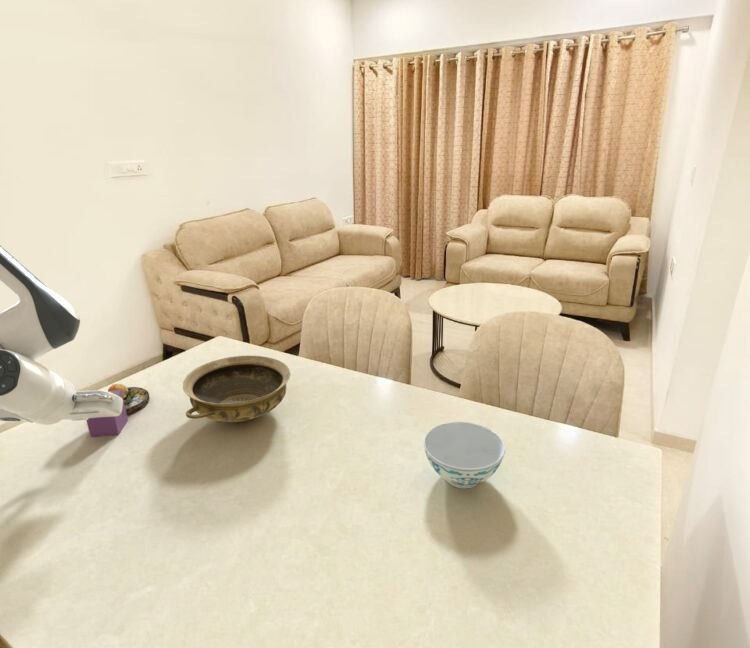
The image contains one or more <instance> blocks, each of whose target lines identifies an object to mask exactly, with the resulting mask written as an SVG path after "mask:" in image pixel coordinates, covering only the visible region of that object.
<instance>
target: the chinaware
mask: <svg viewBox="0 0 750 648" xmlns="http://www.w3.org/2000/svg"><path fill="white" fill-rule="evenodd" d="M423 447H424V453H425V454H426V455H425V456H426V458H427V460H428V463H429V464H430V466H431V468H432V469H433V471H434V472H435V473H436V474H437V475H438V476H439V477H440V478H442V479H444V481H446V482H447V484H449V485H450V486H452V487H455V488H458V489H471V488H475V486H477V485H478V484H481V483H483V482H485V481H487V480H488V479H490V478H491V477H492V476H493V475H494V473H496V472H497V470H498V469H499V467H500V466H501V464H502V462H503V460H504V457H505V453H506V446H505V443H504V441H503V439H502V438H501V437H500V435H499V434H497V433H496V432H495V431H494V430H492V429H490V428H488V427H486V426H483V425H482V424H477V423H473V422H466V421H450V422H444V423H441V424H438V425H436V426H434V427H432V428H430V429H429V431H428V432H427V433H426V434H425V436H424V438H423Z"/></svg>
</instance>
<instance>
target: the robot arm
mask: <svg viewBox="0 0 750 648" xmlns="http://www.w3.org/2000/svg"><path fill="white" fill-rule="evenodd" d="M0 281H1V282H2V283H3V284H4V285H5V286H7V287H8V288H9V289H10V290H11V291H12V292H14V293H15V294H16V295H17V296H18V298H19V299H18V301H17V302H16V303H15V304H13V305H11V306H9V307H8V308H6V309H4V310H2V311H0V422H8V423H15V424H17V423H18V424H19V423H31V424H33V423H35V424H37V425H41V426H42V425H43V426H47V425H53V424H56V423H59V422H61V421H65V420H67V421H68V420H70V421H72V422H75V421H76V422H77V421H86V420H88V418H98V417H114V416H119V415H120V414H121V413H122V407H123V399H122V398H121V397H119V396H117V395H115V394H113V393H111V392H108V390H103V389H101V390H95V389H94V390H76V388H75V386H74V384H73V383H72V382H70V381H69V380H67V379H66V378H64V377H63V376H61V375H59V374H57V373H56V372H54V371H51V370H49V369H48V368H47V367H46V366H45V365H43V364H42V363H39V362H38V361H36V360H38V359H39V358H40V357H43V356H44V355H46V354H47V353H49V352H51V351H52V350H56V349H58V348H60V347H62V346H64V345H67V344H68V343H71V342H73V341H74V340H75V339H76V336H77V334H78V331H79V328H80V325H81V318H80V317H79V314H78V312H77V311H76V309H75V308H74V307H73V305H72V304H71V303H69V301H67V300H66V298H64V297H62V296H61V295H59V294H58V293H56V292H55V291H53V290H52V289H50V288H49V287H48V286H47V285H45V283H44V282H43V281H41V280H40V279H39V278H38V277H37V276H35V274H33V273H32V272H31V271H30V270H28V269H27V268H26V267H25V266H24V265H23V264H22V263H21V262H20V261H19V260H18V259H16V258H15V257H14V256H12V255H11V253H10V252H9V251H8V250H6V249H5V248H4V247H2V246H1V245H0Z"/></svg>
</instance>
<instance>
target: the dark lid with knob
mask: <svg viewBox="0 0 750 648" xmlns="http://www.w3.org/2000/svg"><path fill="white" fill-rule="evenodd" d="M120 390H121V392H122V396H123V401H124V405H125V409H126V414H127V415H129V414H131V413H134V412H135V413H136V412H137V411H139V410H141V409H144V407H145V406H146V405H148V404H149V402H150V393H149V391H148V390H147V389H146V388H143V387H138V386H130V387H129V386H128V387H127V385H126V384H122V383H114V384H113V383H111V386H110V387H108V389H107V391H120Z"/></svg>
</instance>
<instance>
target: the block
mask: <svg viewBox="0 0 750 648" xmlns="http://www.w3.org/2000/svg"><path fill="white" fill-rule="evenodd" d="M107 391H108V390H107ZM108 392H111V393H113V394H115V395H117V396H119V397H121V398H122V399H123V396H122V392H121V390H120V391H108ZM128 418H129V417H128V414H126V409H125V405H124V401H123V407H122V413H121V414H120V415H119V416H114V417H98V418H88V420H85V421H86V424H87V428H88V432H89V437H91V438H93V437H94V438H95V437H106V436H107V437H108V436H118V435H120V433H121V432H122V430H123V429H124V428H125V426H126V424H127V423H128V421H129V419H128Z"/></svg>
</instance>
